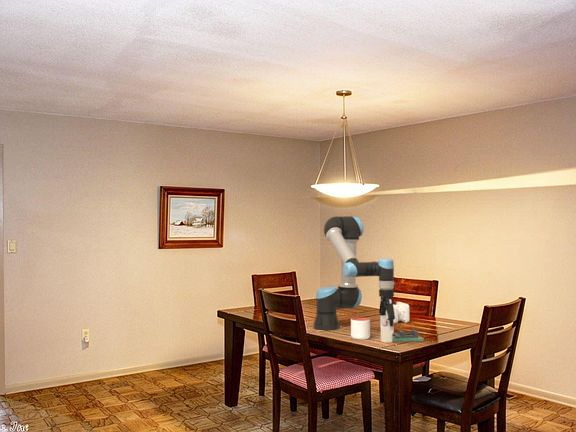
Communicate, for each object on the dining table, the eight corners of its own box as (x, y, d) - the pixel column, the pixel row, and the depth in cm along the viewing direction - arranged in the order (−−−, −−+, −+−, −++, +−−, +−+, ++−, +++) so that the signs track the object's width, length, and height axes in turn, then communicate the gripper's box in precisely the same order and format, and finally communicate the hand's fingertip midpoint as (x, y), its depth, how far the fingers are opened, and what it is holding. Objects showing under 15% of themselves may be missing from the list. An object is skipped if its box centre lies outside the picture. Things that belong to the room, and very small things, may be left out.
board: (393, 341, 285) (393, 333, 285) (385, 336, 299) (385, 328, 299) (423, 341, 287) (423, 332, 287) (414, 335, 301) (414, 327, 301)
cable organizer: (410, 324, 336) (410, 304, 336) (394, 324, 333) (394, 305, 333) (398, 319, 350) (398, 301, 351) (383, 320, 347) (383, 302, 348)
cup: (368, 336, 299) (368, 317, 299) (371, 340, 289) (371, 320, 289) (349, 336, 299) (349, 317, 299) (352, 340, 289) (352, 321, 289)
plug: (382, 342, 284) (382, 325, 284) (380, 340, 288) (380, 324, 288) (394, 342, 285) (393, 325, 285) (391, 340, 289) (391, 324, 289)
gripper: (401, 291, 275) (401, 334, 274) (386, 286, 300) (387, 326, 299) (386, 291, 274) (386, 334, 273) (372, 286, 299) (373, 326, 298)
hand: (386, 330), depth 286 cm, fingers open, 13 cm apart
